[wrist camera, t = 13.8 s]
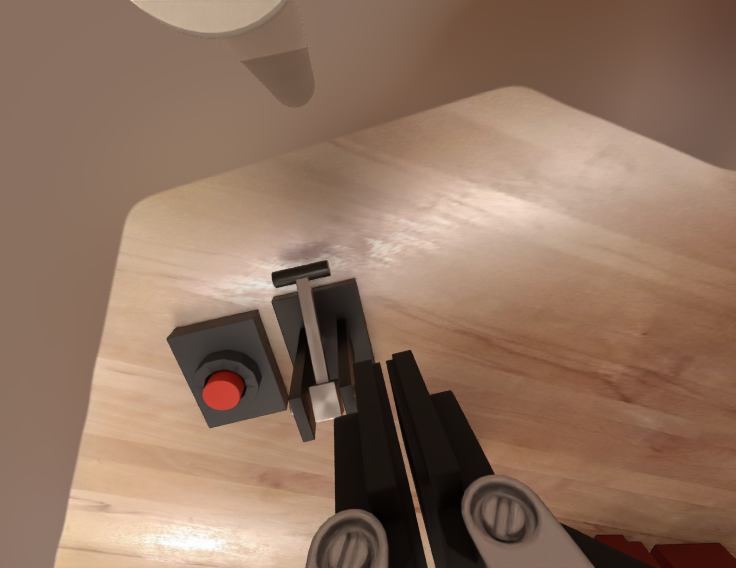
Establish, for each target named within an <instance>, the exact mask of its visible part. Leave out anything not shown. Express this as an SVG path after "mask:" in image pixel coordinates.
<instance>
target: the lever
mask: <svg viewBox="0 0 736 568" xmlns="http://www.w3.org/2000/svg"><path fill="white" fill-rule="evenodd" d="M330 275H331V272H330V267H329V263H328V261H327V260H324V261H320V262H316V263H311V264H307V265H302V266H298V267H294V268H289V269H285V270H280V271H276V272H272V281H273V284H274V286H275V288H279V287H283V286H288V285H292V284H296V285H297V290H298V295H299V300H300V305H301V310H302V315H303V320H304V325H305V330H306V335H307V340H308V345H309V350H310V355H311V360H312V365H313V371H314V376H315V381H316V384H313V385H312V386H310V387H309V393H310V399H311V404H312V409H313V414H314V419H315V423H317V422H321V421H325V420H329V419H334V418H335V417H339V416H342V415H343V412H344V407H343V402H342V397H341V393H340V390H339V383H338V379H333V380H330V376H329V371H328V366H327V361H326V356H325V351H324V346H323V342H322V337H321V332H320V327H319V322H318V317H317V312H316V307H315V303H314V298H313V293H312V288H311V283H310V280H314V279H318V278H323V277H327V276H330Z"/></svg>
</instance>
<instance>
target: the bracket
mask: <svg viewBox="0 0 736 568" xmlns="http://www.w3.org/2000/svg"><path fill="white" fill-rule="evenodd" d="M312 293H313V298H314V303H315V307H316V312H317V317H318V322H319V327H320V332H321V337H322V342H323V346H324V351H325V356H326V361H327V366H328V371H329V376H330V380H333V379H338V383H339V390H340V393H341V397H342V400H343V403H344V407H345V410H346V414H352V413H356V412H358V409H357V400H356V391H355V381H354V372H353V363H356V362H361V361H365V360H369V359H371V360H372V364H375V361H374V357H373V353H372V348H371V344H370V340H369V335H368V331H367V327H366V323H365V318H364V314H363V310H362V305H361V301H360V297H359V292H358V288H357V284H356V280H355V279H351V280H346V281H342V282H338V283H333V284H329V285H325V286H320V287H316V288H312ZM272 305H273V308H274V311H275V314H276V317H277V320H278V323H279V325H280V328H281V331H282V334H283V337H284V340H285V343H286V346H287V349H288V352H289V355H290V358H291V361H292V364H293V367H294V369H293V375H292V381H291V386H290V392H289V398H288V401H289V404H290V411H291V414H292V416H294V418H295V420H296V423H297V426H298V429H299V432H300V434H301V437H302V440H303V442H307V441H311V440H315V430H316V423H315V419H314V414H313V409H312V404H311V399H310V393H309V387H310V386H312V385H313V384H316V381H315V376H314V371H313V365H312V360H311V355H310V350H309V345H308V340H307V335H306V330H305V325H304V320H303V315H302V310H301V305H300V300H299V295H298V292H294V293H290V294H285V295H281V296H276V297H273V299H272Z"/></svg>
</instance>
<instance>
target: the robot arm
mask: <svg viewBox="0 0 736 568" xmlns="http://www.w3.org/2000/svg"><path fill="white" fill-rule="evenodd" d="M392 358H393V359H392V360H388V361H386V364H387V369H388V374H389V378H390V383H391V387H392V392H393V396H394V401H395V406H396V410H397V415H398V419H399V424H400V429H401V433H402V438H403V442H404V446H405V450H406V454H407V458H408V462H409V465H410V469H411V473H412V477H413V481H414V485H415V489H416V493H417V497H418V501H419V505H420V509H421V512H422V516H423V520H424V524H425V528H426V532H427V536H428V540H429V544H430V548H431V552H432V556H433V559H434V563H435V567H436V568H655V567H653V566H650V565H648V564H646V563H644V562H642V561H640V560H638V559H636V558H634V557H631V556H629V555H627V554H625V553H623V552H621V551H619V550H617V549H615V548H613V547H610V546H608V545H606V544H604V543H602V542H600V541H598V540H596V539H594V538H592V537H589V536H587V535H585V534H583V533H581V532H579V531H577V530H575V529H573V528H570V527H568V526H566V525H564V524H562V523H560V522H558V520H557V519H556V518H555V517H554V515H553V514H552V513H551V512H550V510H549V509H548V508H547V507H546V505H545V504H544V503H543V501H542V500H541V499H540V498H539V496H538V495H537V494H536V493H535V492H534V491H533V490H532V489H531V488H530V487H528V486H527V485H525V484H524V483H522V482H520V481H519V480H517V479H514V478H511V477H508V476H505V475H495V474H494V472H493V470H492V468H491V466H490V464H489V462H488V460H487V458H486V456H485V454H484V452H483V450H482V448H481V446H480V444H479V442H478V441H477V439H476V437H475V435H474V433H473V431H472V429H471V427H470V425H469V423H468V421H467V419H466V417H465V415H464V413H463V411H462V409H461V407H460V406H459V404H458V402H457V400H456V398H455V396H454V394H453V392H452V391H451V390H449V391H444V392H440V393H436V394H432V395H429V392H428V390H427V388H426V385H425V383H424V380H423V378H422V376H421V373H420V371H419V368H418V366H417V363H416V361H415V359H414V356H413V354H412V351H411V350H408V351H404V352H399V353H395V354H392ZM353 372H354V381H355V391H356V400H357V409H358V412H356V413H352V414H347V415H343V416H339V417H335V419H334V458H335V515H333V516H332V517H330V518H329V519H328V520H327V521H326V522H325V523H323V524H322V525H321V526H320V528H319V529H318V531H317V532H316V534H315V536H314V537H313V539H312V542H311V545H310V548H309V552H308V557H307V562H306V567H305V568H428V567H427V563H426V558H425V554H424V549H423V545H422V540H421V536H420V531H419V527H418V522H417V518H416V513H415V509H414V504H413V500H412V495H411V491H410V487H409V482H408V478H407V474H406V469H405V465H404V461H403V457H402V453H401V449H400V444H399V440H398V436H397V432H396V428H395V423H394V419H393V415H392V411H391V407H390V403H389V398H388V394H387V390H386V386H385V382H384V378H383V373H382V369H381V365H380V362H379V363H375V364H372V360H371V359H369V360H365V361H361V362H356V363H353Z"/></svg>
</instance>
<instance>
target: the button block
mask: <svg viewBox="0 0 736 568" xmlns="http://www.w3.org/2000/svg"><path fill="white" fill-rule="evenodd" d="M167 341H168V343H169V345H170V347H171V349H172V352H173V354H174V356H175V358H176V360H177V362H178V364H179V366H180V368H181V370H182V372H183V374H184V376H185V379H186V381H187V383H188V385H189V387H190V389H191V391H192V393H193V395H194V397H195V399H196V401H197V403H198V406H199V408H200V410H201V412H202V414H203V416H204V418H205V420H206V422H207V424H208V426H209V428H213V427H217V426H221V425H226V424H230V423H234V422H238V421H242V420H247V419H251V418H255V417H259V416H264V415H268V414H272V413H276V412H281V411H285V410H287V405H288V398H289V397H288V394H287V392H286V389H285V386H284V383H283V380H282V378H281V375H280V372H279V369H278V366H277V364H276V361H275V358H274V355H273V352H272V350H271V347H270V344H269V341H268V338H267V336H266V333H265V330H264V327H263V324H262V322H261V319H260V316H259V313H258V310H254V311H250V312H246V313H241V314H237V315H233V316H228V317H224V318H219V319H215V320H211V321H206V322H202V323H198V324H193V325H189V326H184V327H180V328H176V329H174V330H173V332H172V333H171V334H170V335H169V336H168V337H167ZM219 371H231V372H234V373H236V374H238V375H239V376H240V377H241V378H242V380H243V383H244V390H243V392H242V395H241V398H240V401H239V402H238V404H237V405H236V406H235V407H233V408H231V409H228V410H217V409H213V408H211V407H210V406H208V405H207V404H206V403H205V401H204V399H203V390H204V388H205V386H206V384H207V382H208V380H209V378H210V377H211V376H212V375H213V374H214V373H216V372H219Z"/></svg>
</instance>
